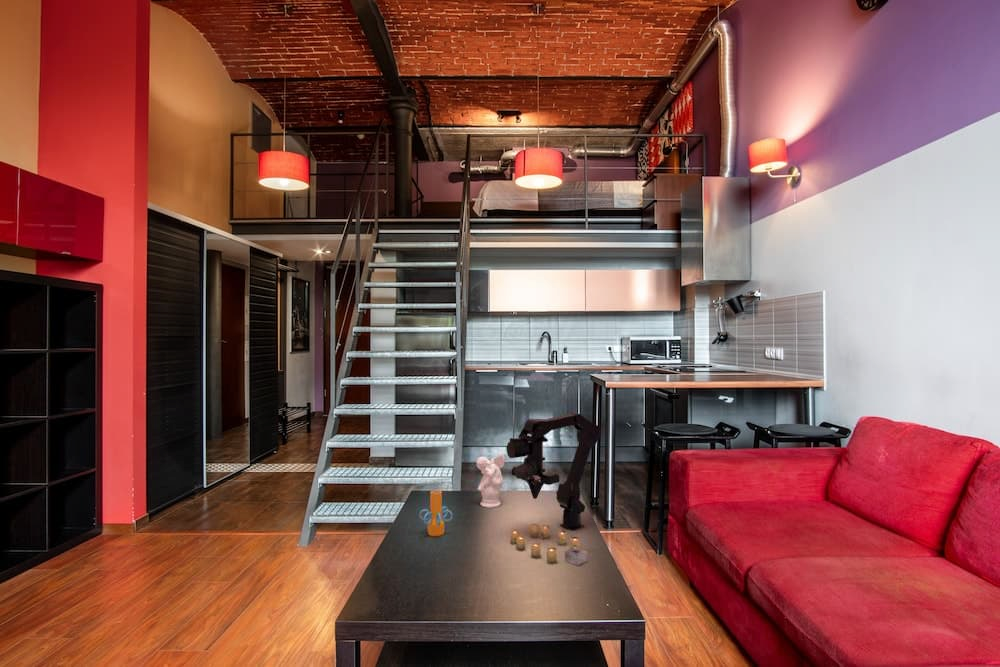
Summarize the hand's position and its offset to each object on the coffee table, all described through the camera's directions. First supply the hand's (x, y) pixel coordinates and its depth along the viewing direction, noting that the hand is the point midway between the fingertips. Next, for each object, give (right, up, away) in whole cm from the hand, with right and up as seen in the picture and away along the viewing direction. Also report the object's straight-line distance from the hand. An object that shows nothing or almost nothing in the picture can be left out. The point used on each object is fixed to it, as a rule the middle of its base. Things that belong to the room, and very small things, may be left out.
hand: (535, 498), depth 182 cm
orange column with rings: (-36, -13, +1) cm, 38 cm away
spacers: (+3, -13, -12) cm, 18 cm away
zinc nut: (+11, -13, -22) cm, 28 cm away
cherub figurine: (-16, -14, +35) cm, 40 cm away
